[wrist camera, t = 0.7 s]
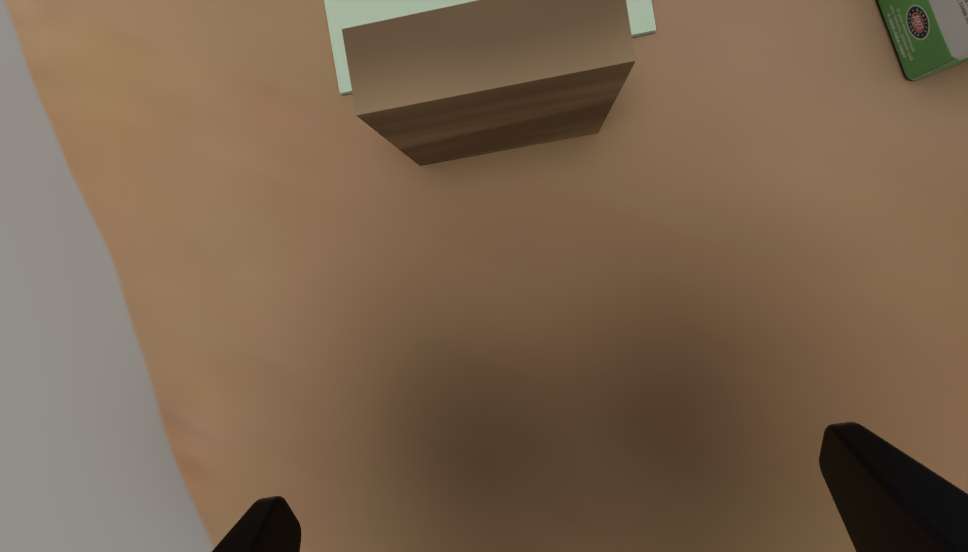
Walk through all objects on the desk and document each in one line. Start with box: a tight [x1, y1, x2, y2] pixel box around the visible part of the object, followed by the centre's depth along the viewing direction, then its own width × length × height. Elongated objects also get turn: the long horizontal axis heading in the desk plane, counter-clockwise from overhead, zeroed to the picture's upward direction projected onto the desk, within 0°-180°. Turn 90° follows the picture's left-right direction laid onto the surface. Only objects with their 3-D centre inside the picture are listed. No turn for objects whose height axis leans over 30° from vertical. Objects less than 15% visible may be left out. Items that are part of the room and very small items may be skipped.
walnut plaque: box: [342, 0, 636, 166], centre depth 20 cm, size 2×8×9 cm, turn 100°
